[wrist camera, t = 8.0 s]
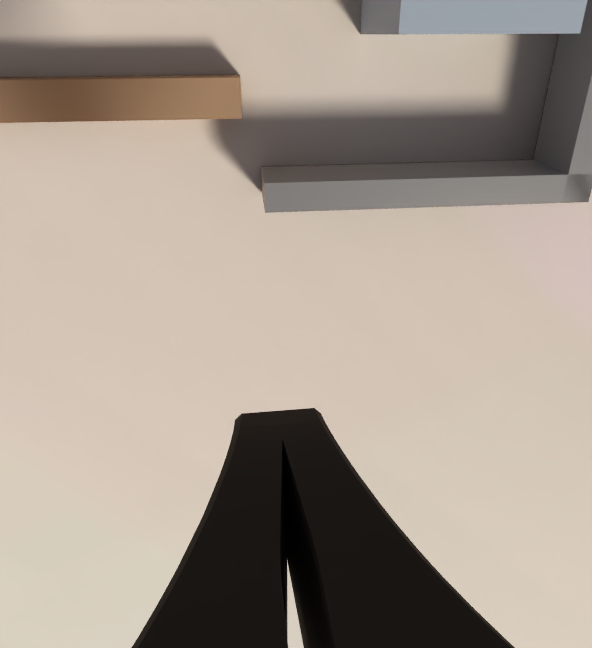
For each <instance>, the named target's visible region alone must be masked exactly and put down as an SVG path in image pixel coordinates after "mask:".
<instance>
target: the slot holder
mask: <svg viewBox="0 0 592 648" xmlns="http://www.w3.org/2000/svg"><path fill="white" fill-rule="evenodd" d="M238 118H242V106H241V85H240V75H184V76H92V77H1V78H0V123H14V122H70V121H126V120H182V119H238Z"/></svg>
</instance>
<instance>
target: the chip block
mask: <svg viewBox="0 0 592 648" xmlns="http://www.w3.org/2000/svg"><path fill="white" fill-rule="evenodd" d="M586 5H587V0H362V9H361V30H360V34H574V33H580V32H581V27H582V23H583V18H584V14H585V9H586Z"/></svg>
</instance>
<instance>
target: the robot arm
mask: <svg viewBox="0 0 592 648" xmlns="http://www.w3.org/2000/svg"><path fill="white" fill-rule="evenodd" d="M287 560H288V565H289V571H290V576H291V582H292V587H293V592H294V597H295V603H296V608H297V613H298V619H299V624H300V629H301V634H302V640H303V645H304V648H515V647H513V646H512V645H511V644H510V643H509V642H508V641H507V640H506V639H505V638H504V637H503V636H502V635H501V634H500V633H499V632H498V631H497V630H495V629H494V628H493V627H492V626H491V625H490V624H489V623H488V622H487V621H486V620H485V619H484V618H483V617H482V616H481V615H480V614H479V613H478V612H477V611H476V610H475V609H474V608H473V607H472V606H471V605H470V604H469V603H468V602H467V601H466V600H465V599H464V598H463V597H462V596H461V595H460V594H459V593H458V592H457V591H456V590H455V589H454V588H453V587H452V586H451V585H450V584H449V583H448V582H447V581H446V580H445V579H444V578H443V577H442V575H441V574H440V573H439V572H438V571H437V570H436V569H435V568H434V567H433V566H432V565H431V564H430V562H429V561H428V560H427V559H426V558H425V557H424V556H423V555H422V553H421V552H420V551H419V550H418V549H417V548H416V547H415V545H414V544H413V543H412V542H411V541H410V540H409V538H408V537H407V536H406V535H405V534H404V532H403V531H402V530H401V529H400V528H399V527H398V525H397V524H396V523H395V522H394V521H393V519H392V518H391V517H390V516H389V514H388V513H387V512H386V511H385V509H384V508H383V507H382V506H381V504H380V503H379V502H378V500H377V499H376V498H375V496H374V495H373V493H372V492H371V491H370V489H369V488H368V487H367V485H366V484H365V483H364V481H363V480H362V479H361V477H360V476H359V475H358V473H357V472H356V470H355V469H354V468H353V466H352V465H351V463H350V462H349V460H348V459H347V457H346V456H345V454H344V453H343V451H342V450H341V448H340V447H339V445H338V443H337V442H336V440H335V439H334V437H333V435H332V434H331V432H330V430H329V428H328V427H327V425H326V423H325V421H324V419H323V417H322V415H321V413H320V412H318V411H317V410H316V409H315V408H310V409H297V410H284V411H271V412H258V413H245V414H241V415H240V416H239V417H238V418H237V419H236V420H235V425H234V431H233V435H232V439H231V443H230V446H229V450H228V453H227V456H226V459H225V462H224V465H223V468H222V470H221V473H220V476H219V478H218V481H217V483H216V486H215V488H214V491H213V493H212V496H211V498H210V500H209V503H208V505H207V508H206V510H205V512H204V515H203V517H202V519H201V521H200V523H199V525H198V528H197V530H196V532H195V534H194V536H193V538H192V540H191V542H190V544H189V546H188V548H187V550H186V552H185V554H184V556H183V558H182V560H181V562H180V564H179V566H178V568H177V570H176V572H175V574H174V576H173V578H172V579H171V581H170V583H169V585H168V587H167V589H166V590H165V592H164V594H163V596H162V598H161V599H160V601H159V603H158V605H157V606H156V608H155V610H154V612H153V613H152V615H151V617H150V618H149V620H148V622H147V623H146V625H145V627H144V628H143V630H142V632H141V634H140V635H139V637H138V638H137V640H136V642H135V643H134V645H133V646H132V648H288V644H287Z"/></svg>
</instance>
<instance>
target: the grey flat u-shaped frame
mask: <svg viewBox="0 0 592 648" xmlns="http://www.w3.org/2000/svg"><path fill="white" fill-rule="evenodd" d="M261 177H262V196H263V202H264V208H265V213H267V212H297V211H328V210H358V209H388V208H419V207H449V206H480V205H510V204H541V203H571V202H588V200H589V196H590V193H591V189H592V0H587V5H586V9H585V14H584V18H583V23H582V27H581V32H580V33H574V34H559V36H558V41H557V46H556V51H555V56H554V61H553V66H552V71H551V76H550V81H549V86H548V91H547V95H546V100H545V105H544V110H543V115H542V120H541V125H540V130H539V135H538V140H537V145H536V150H535V155H534V160H507V161H468V162H429V163H390V164H351V165H312V166H273V167H261Z"/></svg>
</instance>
